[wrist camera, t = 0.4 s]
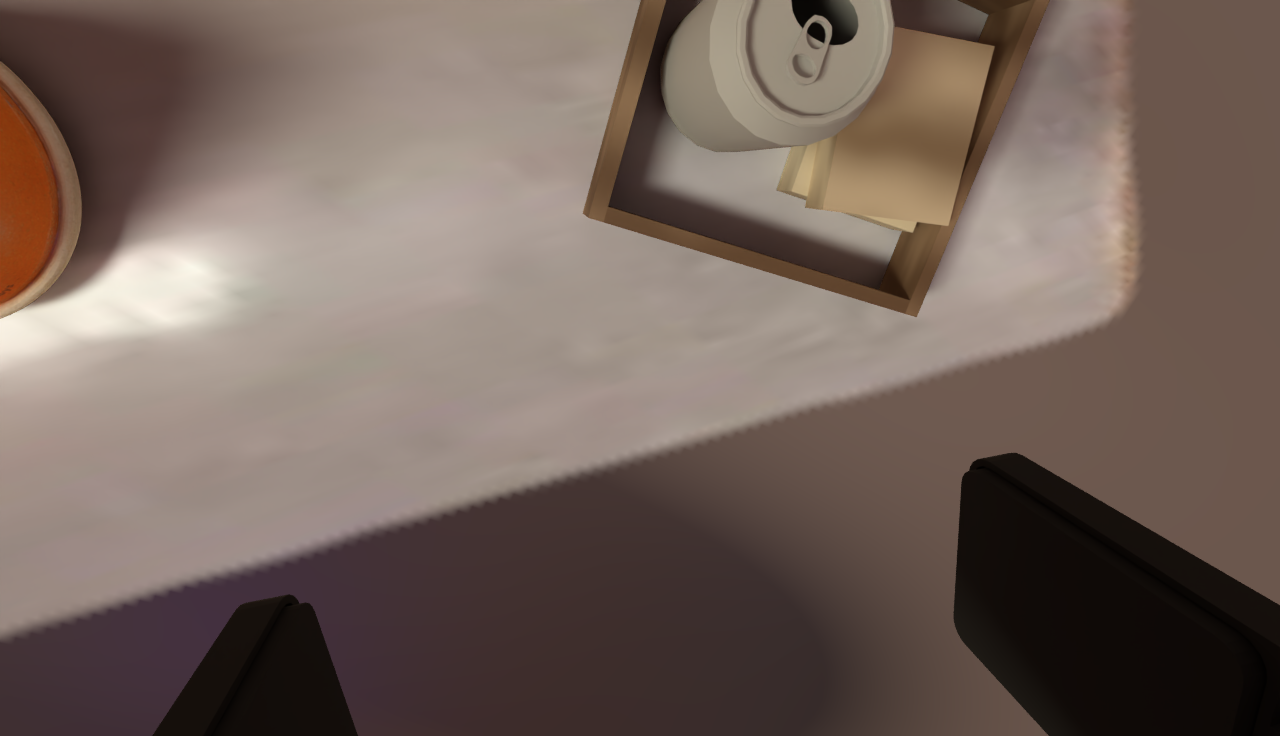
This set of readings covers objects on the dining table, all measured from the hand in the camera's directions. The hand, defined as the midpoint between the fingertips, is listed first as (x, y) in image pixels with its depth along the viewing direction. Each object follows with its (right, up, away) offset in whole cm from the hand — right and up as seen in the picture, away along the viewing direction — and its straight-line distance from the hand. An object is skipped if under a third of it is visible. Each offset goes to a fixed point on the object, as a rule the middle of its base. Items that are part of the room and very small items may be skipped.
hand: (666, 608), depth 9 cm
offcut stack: (+13, +17, +27) cm, 35 cm away
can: (+4, +19, +25) cm, 32 cm away
